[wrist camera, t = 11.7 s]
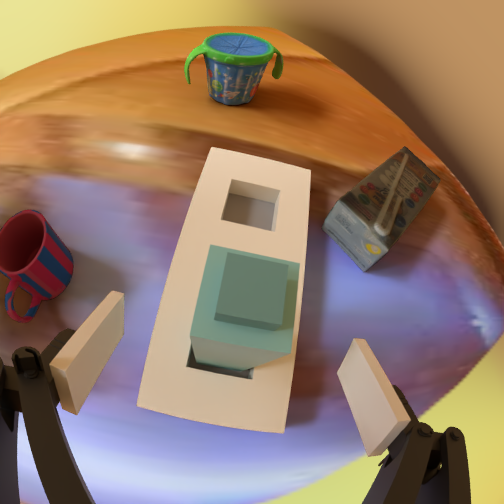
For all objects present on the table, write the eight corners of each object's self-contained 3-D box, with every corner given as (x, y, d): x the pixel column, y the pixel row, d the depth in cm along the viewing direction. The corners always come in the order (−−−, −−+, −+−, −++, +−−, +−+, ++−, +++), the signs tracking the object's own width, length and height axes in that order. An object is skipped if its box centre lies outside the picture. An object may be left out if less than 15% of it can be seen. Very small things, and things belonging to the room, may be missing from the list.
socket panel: (143, 403, 22) (136, 405, 19) (210, 164, 35) (211, 146, 32) (274, 428, 22) (283, 433, 20) (303, 185, 35) (310, 170, 33)
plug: (196, 363, 24) (188, 329, 9) (204, 321, 26) (211, 229, 11) (240, 371, 24) (300, 349, 10) (247, 329, 26) (308, 251, 12)
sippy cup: (185, 115, 38) (187, 56, 29) (181, 82, 43) (184, 32, 34) (284, 113, 42) (300, 60, 33) (266, 81, 46) (278, 35, 38)
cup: (81, 247, 27) (57, 212, 21) (57, 337, 22) (21, 320, 16) (36, 239, 26) (10, 206, 20) (11, 321, 22) (-25, 301, 16)
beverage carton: (315, 226, 33) (338, 192, 27) (386, 168, 41) (406, 141, 35) (362, 275, 31) (394, 250, 26) (421, 203, 39) (444, 178, 34)
